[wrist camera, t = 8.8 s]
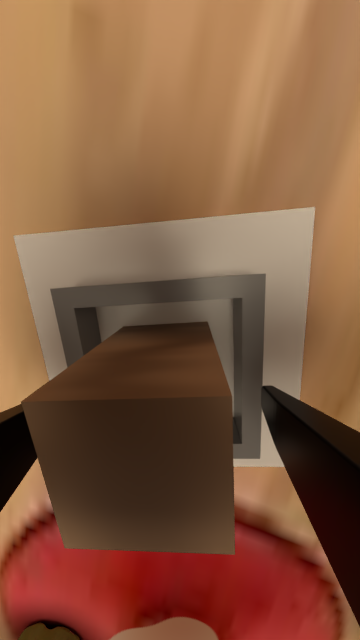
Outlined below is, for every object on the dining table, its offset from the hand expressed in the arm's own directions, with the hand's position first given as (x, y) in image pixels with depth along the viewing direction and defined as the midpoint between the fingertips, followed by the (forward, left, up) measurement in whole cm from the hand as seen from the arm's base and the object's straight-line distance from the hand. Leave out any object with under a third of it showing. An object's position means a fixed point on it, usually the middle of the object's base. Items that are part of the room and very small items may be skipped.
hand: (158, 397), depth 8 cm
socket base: (0, 0, -4) cm, 4 cm away
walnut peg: (0, 0, -3) cm, 3 cm away
